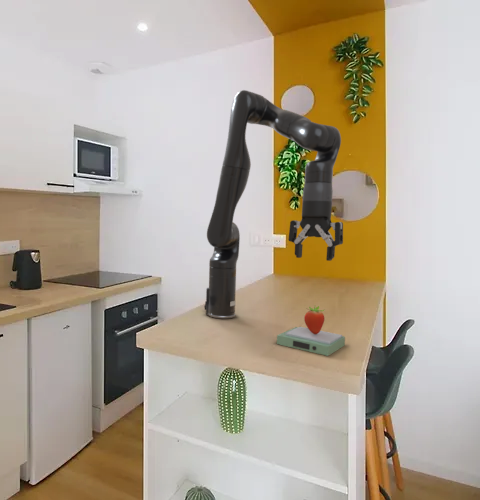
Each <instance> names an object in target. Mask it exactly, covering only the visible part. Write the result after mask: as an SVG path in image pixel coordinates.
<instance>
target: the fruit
mask: <svg viewBox="0 0 480 500" xmlns="http://www.w3.org/2000/svg"><path fill="white" fill-rule="evenodd" d="M308 308H309V309H308ZM308 308H307V310H308V311H307V312H306V313H305V315H304V318H303V319H304V320H303V321H304V323H305V325H306V328H308V329H309V330H310V331H311V332H312V333H313V334H317V333H319V332H320V331H322V328H323V326H324V324H325V315H324V313H323V312H324V311H325V310H326V309H322V310H320V306H319V305H318V306H314V307H313V308H312V307H311V306H309V307H308Z"/></svg>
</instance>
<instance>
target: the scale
mask: <svg viewBox="0 0 480 500" xmlns="http://www.w3.org/2000/svg"><path fill="white" fill-rule="evenodd" d="M276 344H277V345H280V346H282V347H283V346H284V347H288V348H291V349H296V350H301V351H304V352H309V353H314V354H317V355H321V356H326V357H329V356H330V355H332V354H334V353H335V352H337V351H339V350H340V349H341V348H343V347H344V346H345V345H346V336H344V335H343V334H339V333H334V332H329V331H324V330H320V332H319V333H317V334H313V333H312V332H311V331H310V330H309V329H308V327H304V326H295V327H292V328H291V329H288V330H286V331H283V332H281V333H279V334H277V335H276Z"/></svg>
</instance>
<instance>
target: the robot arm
mask: <svg viewBox="0 0 480 500" xmlns="http://www.w3.org/2000/svg"><path fill="white" fill-rule="evenodd" d="M229 114H230V116H229V123H228V124H229V125H228V133H227V141H226V146H225V150H224V156H223V161H222V165H221V170H220V175H219V182H218V186H217V192H216V195H215V202H214V206H213V209H212V212H211V217H210V219H209V223H208V226H207V230H206V239H207V241H208V244H209V245H210V246H211V247H213V253H212V255H211V257H210V258H209V263H208V264H209V266H208V267H209V268H208V269H209V271H208V287H206V290H205V291H206V292H205V293H206V294H205V295H206V296H205V302H204V310H205V315H206V316H208V317H211V318H214V319H219V320H220V319H222V320H223V319H225V320H227V319H233V318H235V317H236V290H237V288H236V287H237V263H238V260H239V255H240V242H241V241H240V239H241V238H240V235H241V233H240V229H239V227H238V225H237V224H236V223H235V222H234V215H235V211H236V209H237V206H238V203H239V202H240V200H241V198H242V196H243V194H244V192H245V189H246V187H247V184H248V181H249V176H250V172H251V165H252V164H251V157H250V154H249V153H250V152H249V149H248V145H247V139H246V135H247V133H246V132H247V126H248V124H250V125H260V126H264V127H269V128H271V129H272V130H273V131H275V132H276V133H277V134H279V135H280V136H282V137H283V138H287V139H289V140H291V141H293V142H295V143H296V144H297V145H298V146H300V147H301V148H303V149H305V150H308V151H310V152H317V153H316V156H315V158H314V160H310V161H308V162H307V163H306V165H305V171H304V184H303V185H304V186H303V191H302V196H301V197H302V205H301V220H300V221H299V220H297V219H296V220H295V219H294V220H290V222H289V232H288V241H289V242H291V243H292V244H294V256H295V258H298V259H300V258H301V259H302V257H303V242H304V241H305V240H306V239H307V238H312V237H313V238H314V237H315V238H322V240H323V241H325V243H326V244H327V247H326V258H325V259H326V261H328V262H331V261H333V260H334V258H335V253H336V247H337V246H340V245H342V244H343V243H344V223H343V221H336V222H332V220H331V219H332V206H333V191H334V189H333V175H334V166H335V163H336V161H337V158H338V154H339V152H340V148H341V144H342V136H341V133H340V130H339V128H337V127H335V126H333V125H327V124H321V123H316V122H314V121H312V120H311V119H309V118H308V117H306V116H304V115H302V114H299V113H297V112H293V111H291V110H287V109H283V108H281V107H279V106H277V105H276V104H274V103H272V102H271V101H270V100H269V99H267V98H266V97H265V96H263V95H262V94H258V93H255V92H252V91H249V90H245V89H243V90H240V91H238V92H237V93H236V95H235V96H234V98H233V101H232V104H231V108H230V113H229ZM300 227H301V229H302V230H301V231H300V232H299V234H298V229H299V228H300ZM331 229H332V230H333V231H334V238H333V236H332V234H331V232H330V230H331Z"/></svg>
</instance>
